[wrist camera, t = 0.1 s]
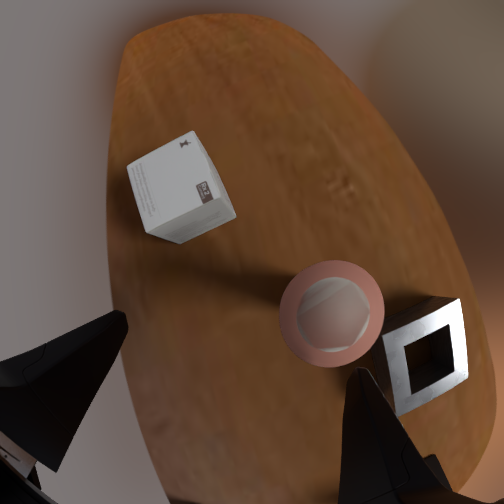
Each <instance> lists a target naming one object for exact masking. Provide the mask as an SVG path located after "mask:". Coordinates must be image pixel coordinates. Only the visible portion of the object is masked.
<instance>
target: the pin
mask: <svg viewBox="0 0 504 504" xmlns="http://www.w3.org/2000/svg"><path fill="white" fill-rule="evenodd" d="M383 320H384V301H383V297H382V294H381V291H380V289H379V287H378V285H377V283H376V282H375V280H374V279H373V278H372V276H371V275H370V274H369V273H368V272H366V271H365V270H364V269H362V268H361V267H359V266H357V265H355V264H353V263H350V262H346V261H340V260H330V261H324V262H320V263H317V264H314V265H312V266H309V267H307V268H306V269H304V270H302V271H301V272H300V273H298V274H297V275H296V276H295V277H294V278H293V279H292V280H291V282H290V283H289V284H288V286H287V287H286V289H285V291H284V293H283V296H282V299H281V303H280V310H279V321H280V328H281V332H282V335H283V338H284V340H285V342H286V343H287V345H288V346H289V348H290V349H291V350H292V351H293V352H294V353H295V354H296V355H297V356H298V357H299V358H301V359H302V360H304V361H306V362H307V363H310V364H312V365H316V366H320V367H337V366H342V365H346V364H348V363H351V362H353V361H355V360H356V359H358V358H360V357H361V356H362V355H364V354H365V353H366V352H367V351H368V350H369V349H370V348H371V346H372V345H373V344H374V343H375V341H376V339H377V338H378V336H379V333H380V331H381V328H382V325H383Z"/></svg>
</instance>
